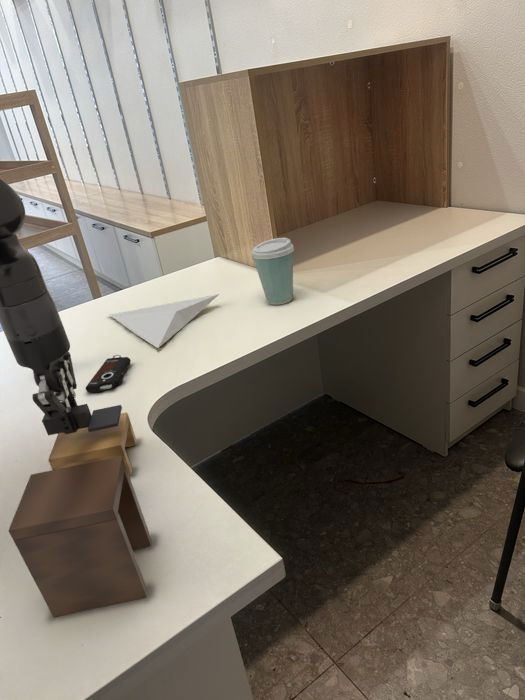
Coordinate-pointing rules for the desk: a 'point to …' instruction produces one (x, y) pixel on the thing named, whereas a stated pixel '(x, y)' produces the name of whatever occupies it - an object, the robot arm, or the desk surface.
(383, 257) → the desk surface
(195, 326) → the desk surface
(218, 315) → the desk surface
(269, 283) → the disposable coffee cup
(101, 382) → the camera
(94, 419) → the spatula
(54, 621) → the desk surface
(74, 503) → the high shelf
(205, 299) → the paper plane
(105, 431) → the low shelf
